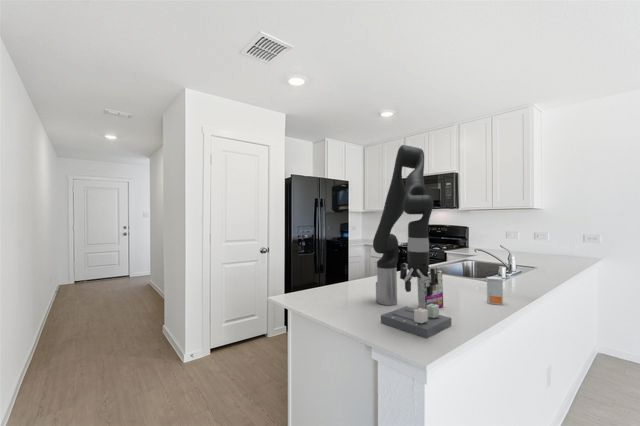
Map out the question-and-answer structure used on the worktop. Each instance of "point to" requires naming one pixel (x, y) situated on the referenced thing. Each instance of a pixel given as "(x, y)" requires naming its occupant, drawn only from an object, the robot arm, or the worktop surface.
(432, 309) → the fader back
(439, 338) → the worktop surface
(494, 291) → the skincare box
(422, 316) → the block
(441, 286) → the candy bar box
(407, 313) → the fader board
